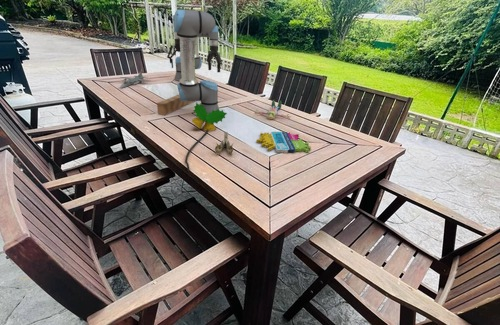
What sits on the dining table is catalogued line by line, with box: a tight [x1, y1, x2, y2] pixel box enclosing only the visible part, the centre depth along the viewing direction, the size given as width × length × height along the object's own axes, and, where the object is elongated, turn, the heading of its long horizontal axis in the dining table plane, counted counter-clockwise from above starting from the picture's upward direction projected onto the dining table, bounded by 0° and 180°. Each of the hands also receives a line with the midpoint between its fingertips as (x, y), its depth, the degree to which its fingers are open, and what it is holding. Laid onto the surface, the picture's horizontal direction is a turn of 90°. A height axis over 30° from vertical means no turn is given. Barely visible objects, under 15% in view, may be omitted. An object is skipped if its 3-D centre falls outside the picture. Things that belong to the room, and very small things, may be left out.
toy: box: [253, 99, 292, 120], centre depth 196 cm, size 28×7×30 cm
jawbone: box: [214, 131, 234, 156], centre depth 136 cm, size 9×15×10 cm
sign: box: [256, 131, 312, 154], centre depth 152 cm, size 26×2×30 cm
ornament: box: [191, 101, 228, 132], centre depth 162 cm, size 21×8×15 cm, turn 105°
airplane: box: [119, 68, 152, 89], centre depth 248 cm, size 38×31×10 cm
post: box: [156, 94, 195, 116], centre depth 211 cm, size 77×5×8 cm, turn 159°
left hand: (214, 71), depth 236 cm, fingers open, 13 cm apart
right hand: (181, 68), depth 206 cm, fingers open, 13 cm apart
